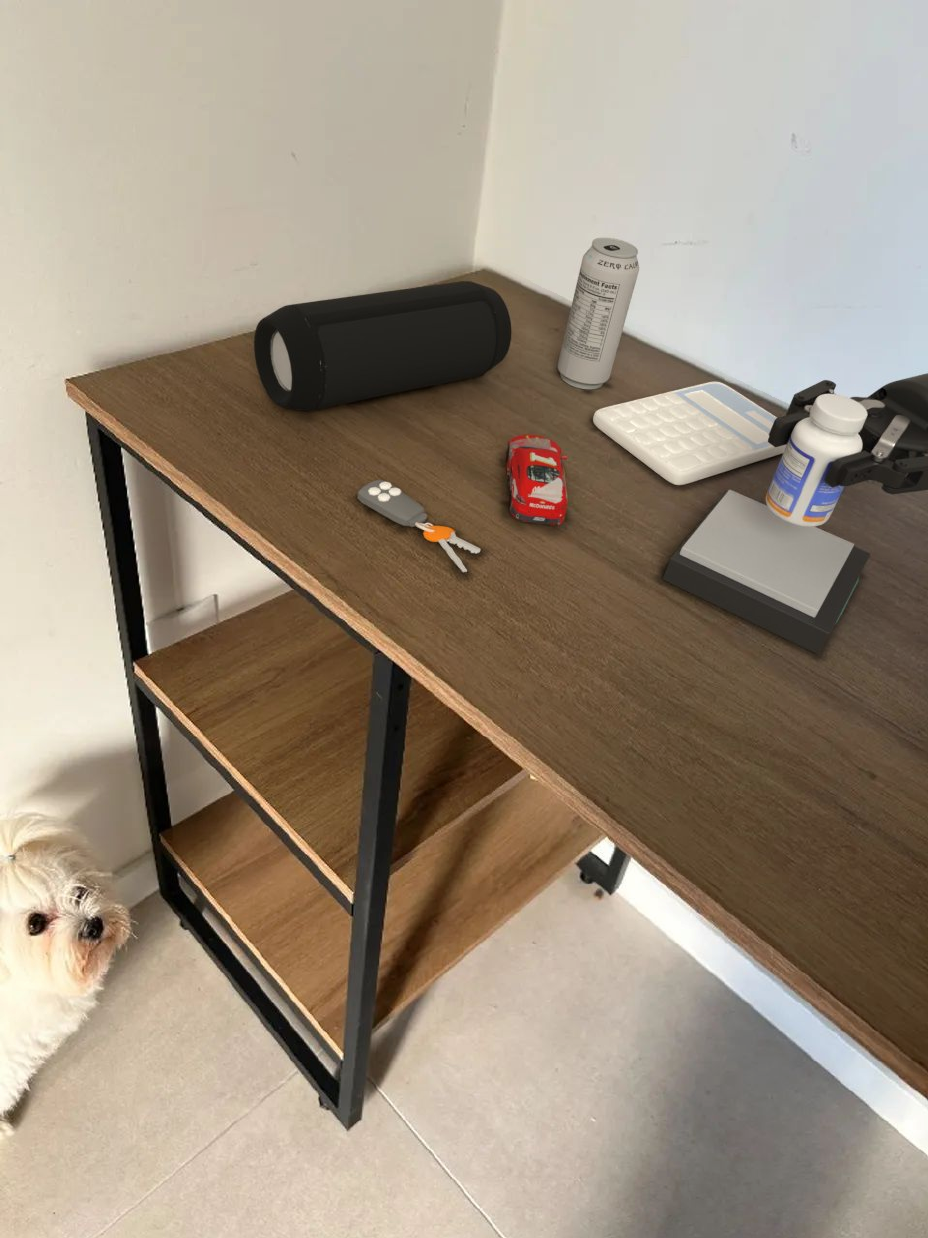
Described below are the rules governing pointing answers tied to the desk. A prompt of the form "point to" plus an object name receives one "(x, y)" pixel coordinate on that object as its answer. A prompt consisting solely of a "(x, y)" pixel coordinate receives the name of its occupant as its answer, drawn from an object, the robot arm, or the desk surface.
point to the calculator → (691, 431)
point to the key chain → (410, 516)
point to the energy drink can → (598, 312)
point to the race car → (536, 480)
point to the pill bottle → (815, 460)
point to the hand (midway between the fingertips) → (803, 453)
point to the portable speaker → (380, 343)
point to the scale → (768, 570)
